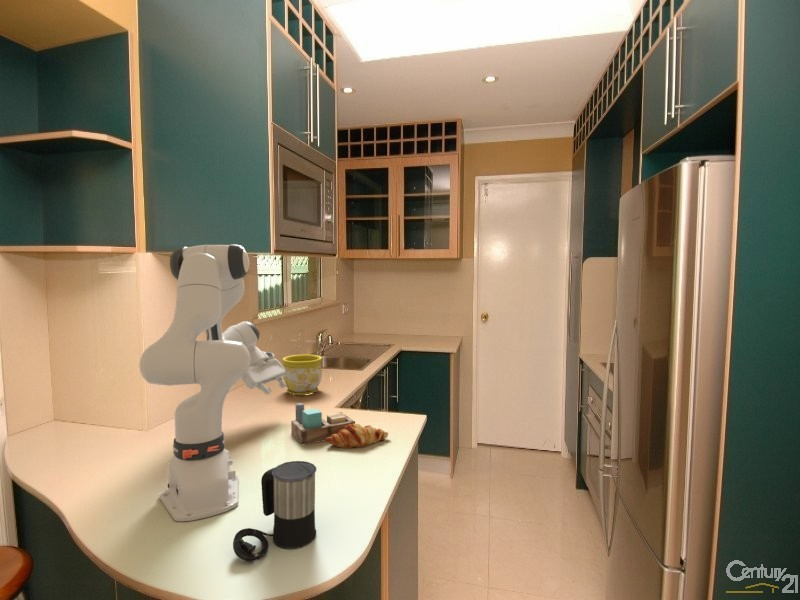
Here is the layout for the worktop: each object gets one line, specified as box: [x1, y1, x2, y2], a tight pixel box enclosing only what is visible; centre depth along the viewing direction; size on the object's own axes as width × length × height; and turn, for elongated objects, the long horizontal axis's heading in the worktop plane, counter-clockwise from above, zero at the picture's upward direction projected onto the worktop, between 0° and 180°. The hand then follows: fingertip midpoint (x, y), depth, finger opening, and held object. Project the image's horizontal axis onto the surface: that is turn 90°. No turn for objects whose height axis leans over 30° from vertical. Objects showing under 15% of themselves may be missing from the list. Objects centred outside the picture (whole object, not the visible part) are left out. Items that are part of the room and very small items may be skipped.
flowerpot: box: [282, 354, 323, 396], centre depth 207 cm, size 18×18×16 cm
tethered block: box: [295, 402, 323, 429], centre depth 156 cm, size 17×5×9 cm, turn 31°
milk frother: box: [232, 460, 317, 562], centre depth 92 cm, size 14×16×15 cm
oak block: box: [326, 412, 345, 425], centre depth 156 cm, size 5×5×6 cm
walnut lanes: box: [290, 411, 356, 445], centre depth 154 cm, size 12×19×4 cm, turn 121°
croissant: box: [325, 423, 389, 449], centre depth 146 cm, size 21×10×8 cm, turn 111°
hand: (276, 389), depth 165 cm, fingers open, 8 cm apart
